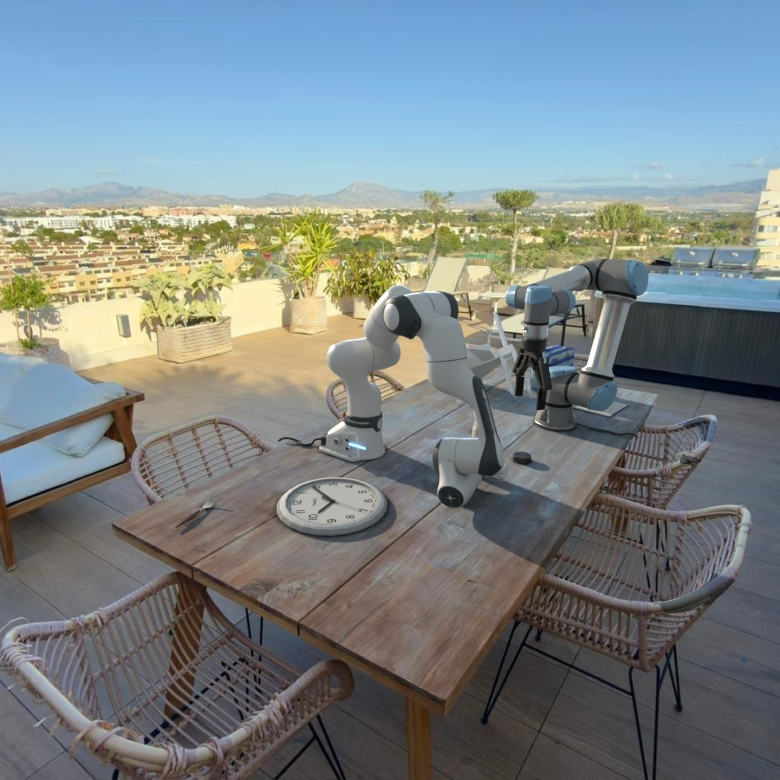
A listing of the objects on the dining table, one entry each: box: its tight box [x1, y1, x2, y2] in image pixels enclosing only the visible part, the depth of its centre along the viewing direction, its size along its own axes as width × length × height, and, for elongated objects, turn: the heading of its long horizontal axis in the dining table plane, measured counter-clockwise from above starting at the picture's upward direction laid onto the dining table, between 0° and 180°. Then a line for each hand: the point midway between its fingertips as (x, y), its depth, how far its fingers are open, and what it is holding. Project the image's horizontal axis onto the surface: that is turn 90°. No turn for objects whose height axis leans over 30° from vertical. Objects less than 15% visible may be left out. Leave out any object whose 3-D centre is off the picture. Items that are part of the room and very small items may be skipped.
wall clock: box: [276, 476, 388, 537], centre depth 142 cm, size 30×2×30 cm
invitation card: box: [573, 400, 629, 418], centre depth 226 cm, size 21×1×15 cm
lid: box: [512, 451, 532, 465], centre depth 172 cm, size 6×6×2 cm
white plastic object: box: [465, 310, 531, 400], centre depth 245 cm, size 37×45×31 cm
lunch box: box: [529, 345, 575, 393], centre depth 245 cm, size 26×11×21 cm, turn 134°
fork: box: [174, 492, 220, 529], centre depth 137 cm, size 3×16×2 cm, turn 160°
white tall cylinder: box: [471, 420, 480, 438], centre depth 160 cm, size 5×5×17 cm
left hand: (479, 455), depth 161 cm, fingers open, 7 cm apart
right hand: (529, 402), depth 167 cm, fingers open, 13 cm apart
